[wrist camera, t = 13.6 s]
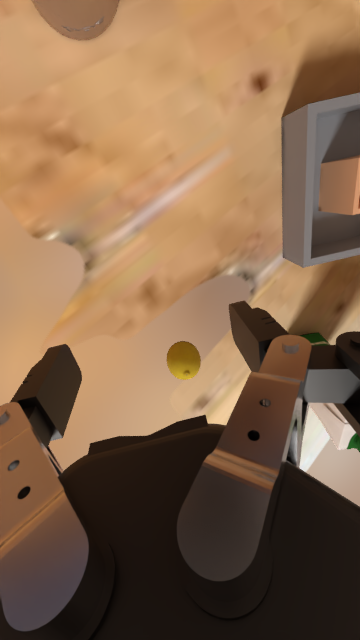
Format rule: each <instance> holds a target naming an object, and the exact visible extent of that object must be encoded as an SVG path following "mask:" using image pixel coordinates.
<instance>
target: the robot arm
mask: <svg viewBox="0 0 360 640" xmlns="http://www.w3.org/2000/svg"><path fill="white" fill-rule="evenodd" d="M32 2H33V3H34V5H35V7H36V8H37V10H38V11H39V13H40V14H41V16H42V17H43V18H44V19H45V20H46V21H47V22H48V24H49V25H50V26H51V27H53V28H54V29H55V30H57V31H58V32H59V33H60V34H63V35H65V36H67V37H69V38H72V39H76V40H89V39H92V38H94V37H97V36H99V35H100V34H101V33H103V32H104V31H105V30H106V29H107V27H108V26H109V25H110V24H111V22H112V20H113V18H114V16H115V14H116V11H117V7H118V3H119V0H32ZM229 313H230V321H231V328H232V334H233V338H234V341H235V344H236V345H237V347H238V349H239V351H240V352H241V354H242V356H243V357H244V359H245V361H246V363H247V364H248V366H249V368H250V369H251V371H252V372H251V373H250V375H249V377H248V379H247V381H246V384H245V386H244V388H243V390H242V392H241V394H240V397H239V399H238V401H237V403H236V405H235V407H234V410H233V412H232V414H231V416H230V418H229V420H228V423H227V425H226V426H225V425H221V424H208V423H207V419H206V415H203V416H199V417H195V418H190V419H186V420H182V421H179V422H176V423H174V424H172V425H170V426H168V427H166V428H164V429H161V430H159V431H157V432H155V433H153V434H151V435H148V436H118V437H114V438H110V439H106V440H102V441H98V442H94V443H91V444H90V448H89V452H88V454H87V455H86V456H84V457H82V458H80V459H79V460H77V461H76V462H74V463H73V464H72V465H70V466H69V467H68V468H67V469H66V470H64V471H63V469H62V468H61V466H60V464H59V462H58V461H57V459H56V457H55V455H54V454H53V452H52V450H51V449H50V447H49V446H48V445H49V443H50V441H52V440H56V439H60V438H63V435H64V432H65V429H66V426H67V423H68V420H69V417H70V414H71V411H72V408H73V405H74V402H75V399H76V396H77V393H78V390H79V387H80V384H81V381H82V375H81V371H80V368H79V366H78V365H77V362H76V360H75V358H74V356H73V354H72V352H71V350H70V348H69V347H68V345H66V344H63V345H59V346H55V347H51V348H49V349H48V350H47V352H46V353H45V355H44V356H43V358H42V360H40V361H39V362H38V363H37V364H36V365H35V366H34V367H32V369H31V370H30V372H29V373H28V375H27V377H26V378H25V380H24V381H23V384H21V386H20V387H19V389H18V390H17V392H16V394H15V395H14V397H13V398H12V400H11V402H10V403H6V404H4V405H2V406H0V640H360V507H359V506H358V505H356V504H354V503H353V502H351V501H350V500H348V499H346V498H345V497H343V496H342V495H340V494H339V493H337V492H336V491H334V490H332V489H331V488H329V487H328V486H326V485H324V484H323V483H321V482H320V481H318V480H317V479H315V478H314V477H312V476H310V475H309V474H307V473H306V472H304V471H303V470H301V469H300V468H299V465H300V457H301V447H302V440H303V434H304V429H305V424H306V418H307V413H308V408H309V403H333V404H334V405H335V406H336V408H337V409H338V410H339V411H340V413H341V414H342V415H343V417H344V418H345V419H346V420H347V422H348V423H349V424H350V426H351V427H352V428H353V429H354V431H355V432H356V433H357V434H358V436H359V437H360V332H346V333H343V334H341V335H339V336H338V337H337V339H336V345H324V346H314V345H311V343H310V342H309V341H308V340H307V339H306V338H304V337H301V336H297V335H290V334H289V333H288V332H287V331H286V330H285V329H284V328H283V327H282V326H281V325H280V324H279V323H278V322H276V320H275V319H274V318H273V317H272V316H271V315H270V314H269V313H268V312H267V311H265V310H262V309H260V308H254V309H252V308H251V307H250V306H249V305H248V304H247V303H246V302H245V301H240V302H236V303H232V304H229Z"/></svg>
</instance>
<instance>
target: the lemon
mask: <svg viewBox="0 0 360 640" xmlns="http://www.w3.org/2000/svg"><path fill="white" fill-rule="evenodd" d="M200 361H201V360H200V355H199V352H198V350H197V349H196V348H195V346H194V345H192V344H191V343H189V342H185V341H180V342H177V343H175V344H174V345H172V346H171V348H170V349H169V351H168V353H167V364H168V368H169V370H170V371H171V373H172V374H173V375H174V376H175V377H177V378H178V379H183V380H186V379H190V378H192V377H194V376H195V375H196V374H197V373H198V371H199V368H200Z"/></svg>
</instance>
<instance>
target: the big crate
mask: <svg viewBox="0 0 360 640" xmlns="http://www.w3.org/2000/svg"><path fill="white" fill-rule="evenodd" d="M357 155H360V93H355V94H351V95H346V96H342V97H337V98H333V99H328V100H324V101H319V102H315V103H310V104H307V105H305V106H303V107H301V108H299V109H298V110H296V111H294V112H292V113H290V114H288V115H286V116H285V117H283V118H282V217H283V258H285V259H287V260H289V261H291V262H293V263H295V264H297V265H299V266H301V267H303V268H304V267H308V266H313V265H317V264H321V263H326V262H330V261H334V260H339V259H343V258H347V257H352V256H356V255H360V214H356V215H347V214H339V213H330V212H322V211H318V209H319V189H320V170H321V164H322V163H326V162H331V161H335V160H340V159H344V158H349V157H353V156H357Z"/></svg>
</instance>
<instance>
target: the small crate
mask: <svg viewBox="0 0 360 640" xmlns="http://www.w3.org/2000/svg"><path fill="white" fill-rule="evenodd" d="M318 211H322V212H330V213H339V214H347V215H356V214H360V155H357V156H353V157H349V158H344V159H340V160H335V161H331V162H326V163H322V164H321V170H320V189H319V209H318Z"/></svg>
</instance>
